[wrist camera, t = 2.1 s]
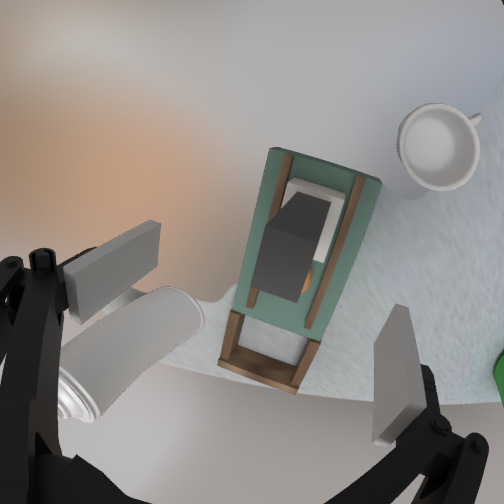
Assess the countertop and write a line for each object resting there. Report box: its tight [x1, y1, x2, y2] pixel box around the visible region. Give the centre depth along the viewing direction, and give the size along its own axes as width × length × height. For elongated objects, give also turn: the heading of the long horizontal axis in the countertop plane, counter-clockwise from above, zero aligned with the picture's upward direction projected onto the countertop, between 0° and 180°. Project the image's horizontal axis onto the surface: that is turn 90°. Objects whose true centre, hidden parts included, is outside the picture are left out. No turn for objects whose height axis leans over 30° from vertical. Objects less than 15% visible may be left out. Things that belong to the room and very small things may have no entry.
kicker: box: [250, 177, 345, 303], centre depth 23 cm, size 5×6×13 cm
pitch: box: [232, 147, 382, 341], centre depth 33 cm, size 11×19×3 cm, turn 167°
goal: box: [217, 308, 322, 395], centre depth 38 cm, size 11×9×4 cm
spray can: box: [58, 286, 204, 423], centre depth 33 cm, size 12×11×25 cm
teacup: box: [397, 103, 483, 192], centre depth 23 cm, size 10×8×5 cm
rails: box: [246, 153, 365, 330], centre depth 30 cm, size 8×17×1 cm, turn 167°
